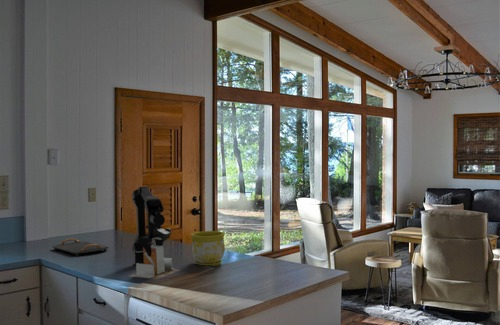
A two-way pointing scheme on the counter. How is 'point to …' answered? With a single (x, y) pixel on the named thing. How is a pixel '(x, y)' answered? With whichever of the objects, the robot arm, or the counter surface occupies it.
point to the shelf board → (157, 276)
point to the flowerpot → (208, 247)
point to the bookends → (152, 268)
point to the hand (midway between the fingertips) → (154, 254)
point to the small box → (155, 258)
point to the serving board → (79, 247)
